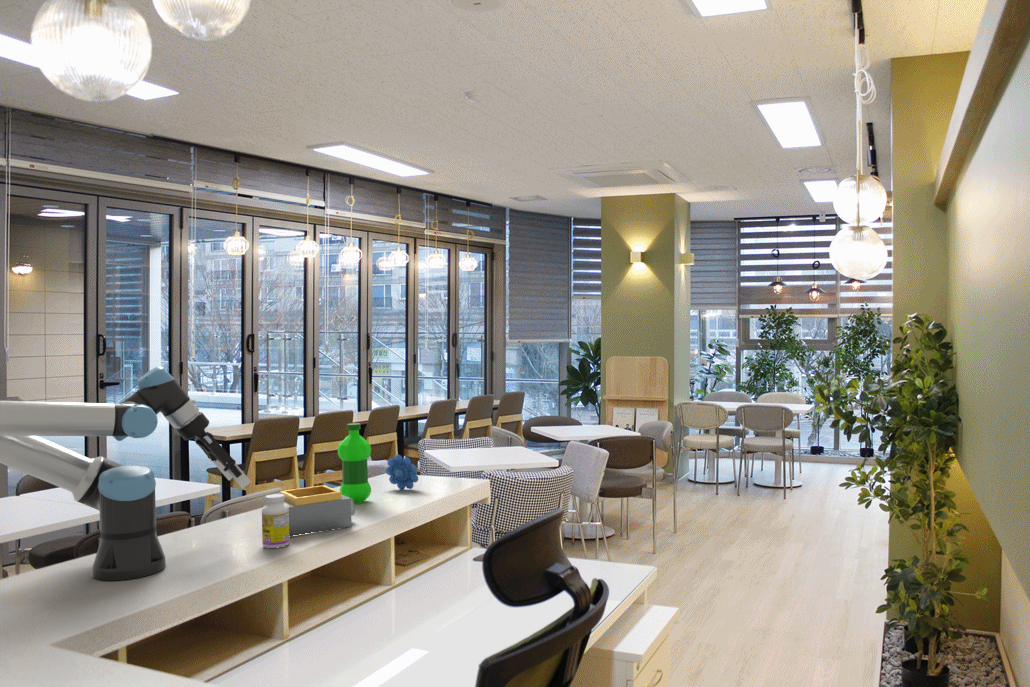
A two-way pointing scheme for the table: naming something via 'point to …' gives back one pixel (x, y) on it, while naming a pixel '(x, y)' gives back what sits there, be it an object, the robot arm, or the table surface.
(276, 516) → the supplement bottle
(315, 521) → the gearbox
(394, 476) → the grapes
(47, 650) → the table surface
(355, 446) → the plastic bottle
